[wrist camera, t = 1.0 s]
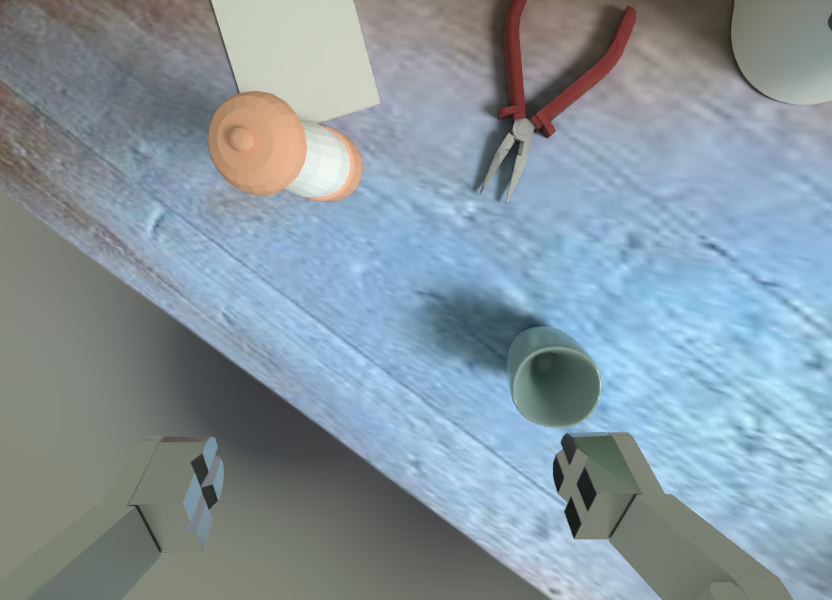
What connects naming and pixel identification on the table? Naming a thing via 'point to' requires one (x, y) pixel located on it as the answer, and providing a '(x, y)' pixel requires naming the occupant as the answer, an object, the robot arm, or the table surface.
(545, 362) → the cup
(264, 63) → the mat
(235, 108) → the pepper shaker
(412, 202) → the table surface
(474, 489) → the table surface
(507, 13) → the pliers
